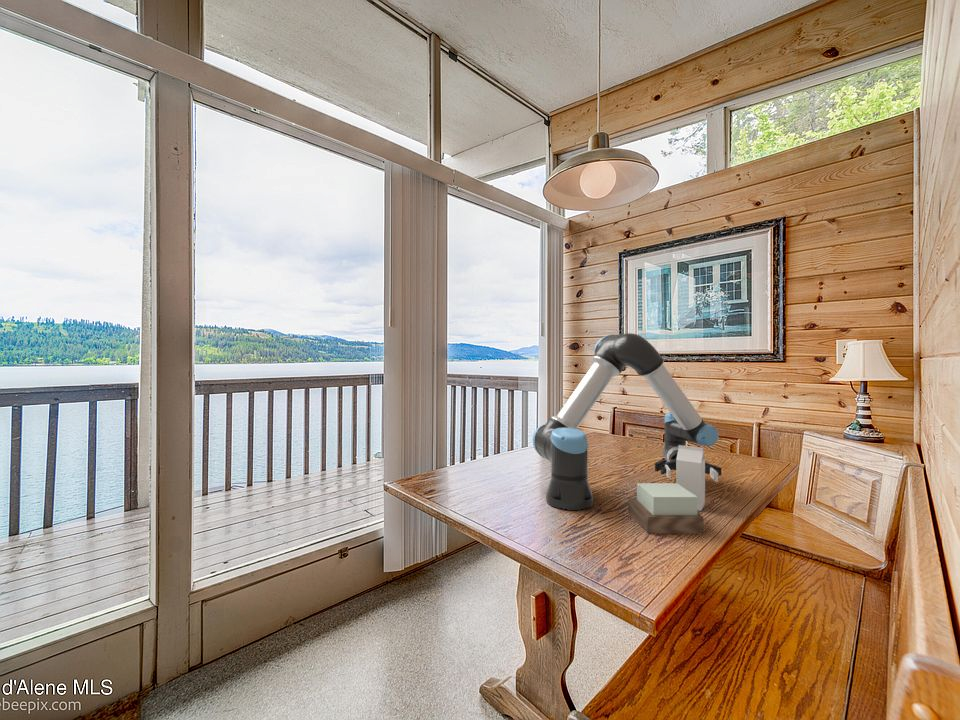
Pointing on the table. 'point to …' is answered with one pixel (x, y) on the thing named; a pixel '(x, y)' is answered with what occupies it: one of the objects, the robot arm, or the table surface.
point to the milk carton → (691, 472)
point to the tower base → (664, 520)
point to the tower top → (666, 499)
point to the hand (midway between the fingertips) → (692, 475)
